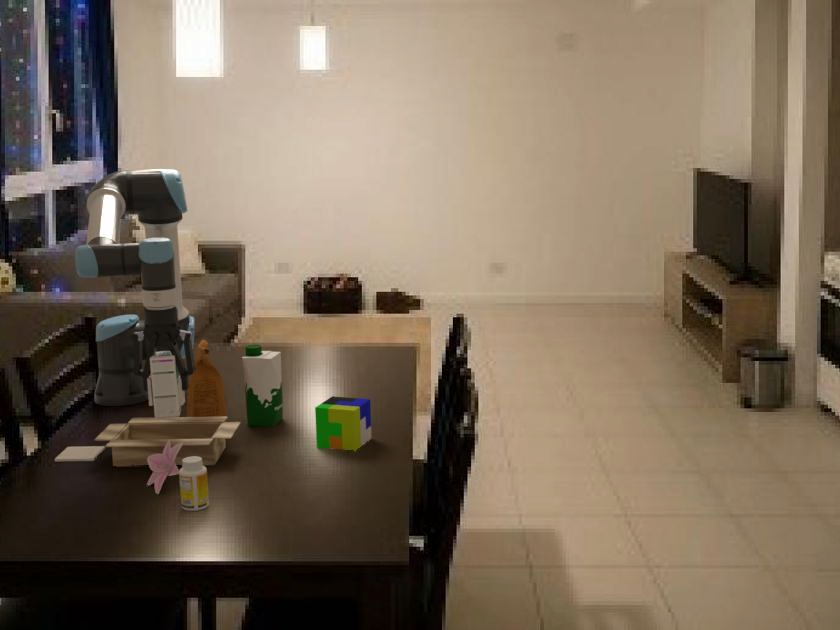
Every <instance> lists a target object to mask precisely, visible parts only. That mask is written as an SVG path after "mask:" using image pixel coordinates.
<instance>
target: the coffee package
mask: <svg viewBox="0 0 840 630" xmlns="http://www.w3.org/2000/svg"><path fill="white" fill-rule="evenodd" d="M208 348H209V342H207V340H205V339H202V340H200V343H199V344H198V345H197V352H196V356H195V357H194V362H195V369H196V370H195V372H194V373H193V374H192V375H190V378H189V380H188V389H187V390H186V391H187V393H186V394H187V395H186V417H226V416H227V395H226V391H225V387H224V383H223V382H224V381H223V379H222V376H221V373H220V372H219V371H218V369H217V368H216V366H215V364H213V363H212V361H211V360H210V359H209V358H208V355H210V354H211V351H210V349H208ZM225 422H227V420H226V421H225Z"/></svg>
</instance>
